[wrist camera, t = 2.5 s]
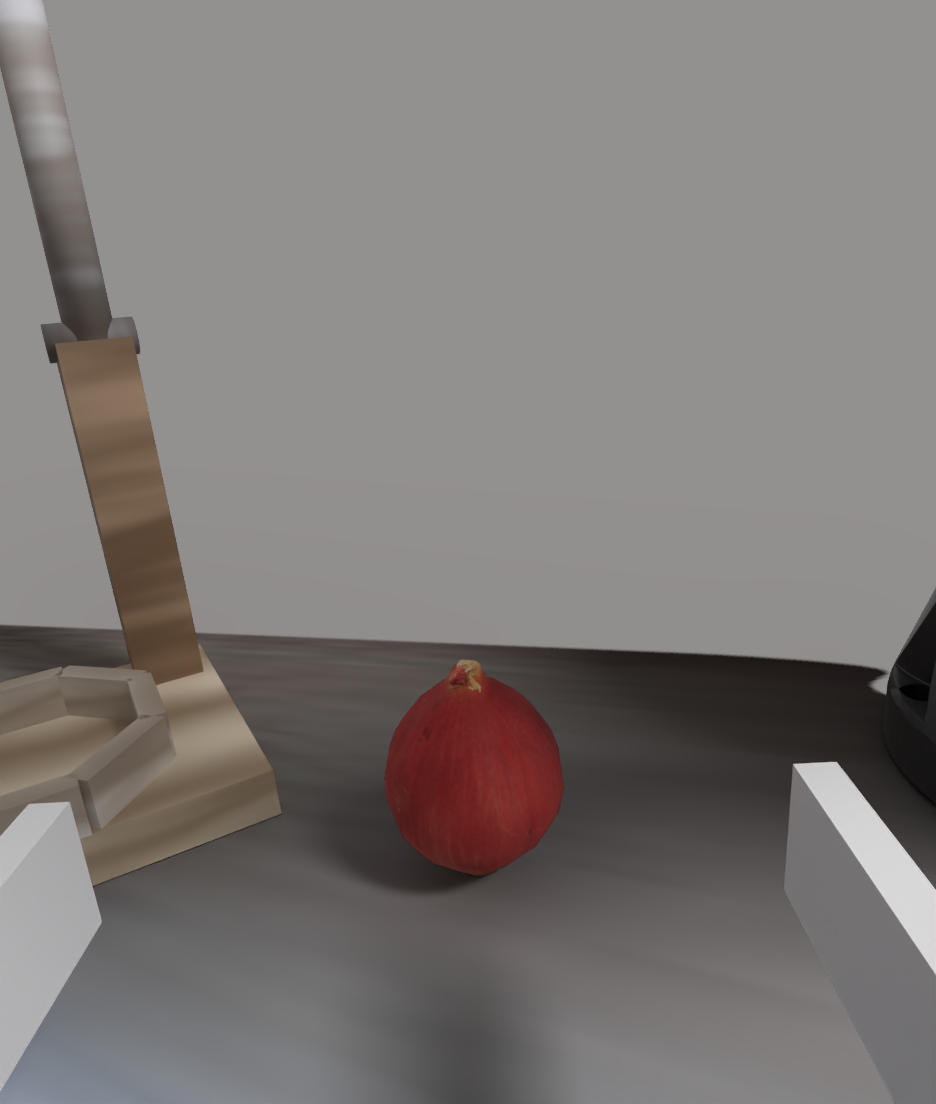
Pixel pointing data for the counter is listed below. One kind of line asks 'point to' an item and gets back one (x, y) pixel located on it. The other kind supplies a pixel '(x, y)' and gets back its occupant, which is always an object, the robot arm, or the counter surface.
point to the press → (114, 560)
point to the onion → (473, 773)
